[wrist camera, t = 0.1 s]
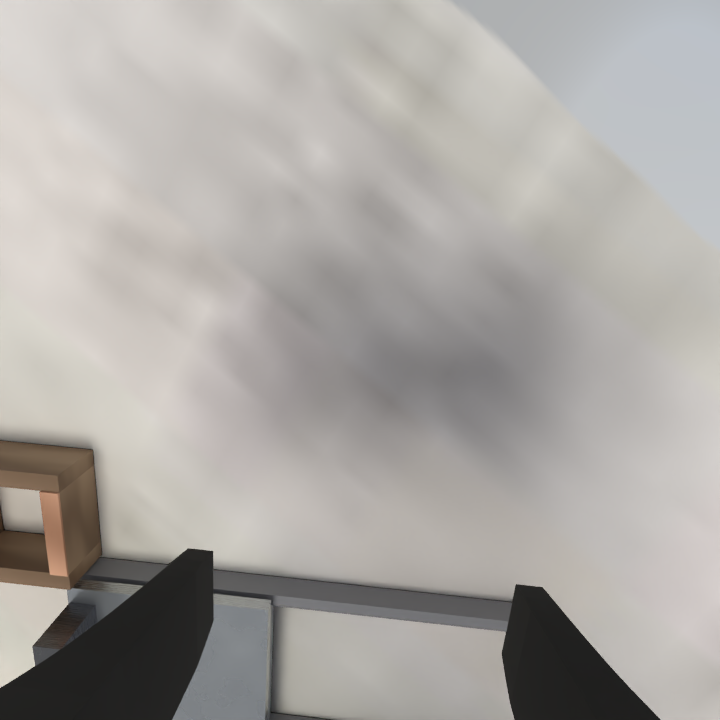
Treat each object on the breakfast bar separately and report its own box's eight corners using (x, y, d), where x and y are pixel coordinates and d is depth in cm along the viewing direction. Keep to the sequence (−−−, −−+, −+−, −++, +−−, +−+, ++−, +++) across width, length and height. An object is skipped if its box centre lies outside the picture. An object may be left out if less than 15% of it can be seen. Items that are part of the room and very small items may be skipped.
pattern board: (510, 750, 25) (516, 774, 24) (108, 701, 26) (95, 722, 25) (543, 605, 23) (551, 626, 22) (94, 556, 24) (79, 573, 22)
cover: (267, 750, 24) (250, 820, 21) (91, 728, 25) (52, 794, 22) (271, 600, 22) (253, 656, 19) (75, 578, 22) (27, 630, 19)
